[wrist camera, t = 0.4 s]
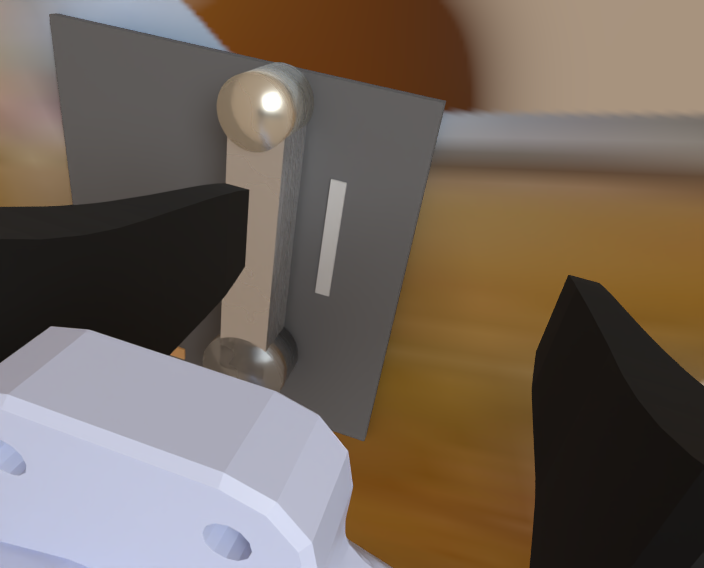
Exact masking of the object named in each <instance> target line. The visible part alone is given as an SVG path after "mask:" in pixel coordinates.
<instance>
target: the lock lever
mask: <svg viewBox="0 0 704 568" xmlns="http://www.w3.org/2000/svg"><path fill="white" fill-rule="evenodd" d="M313 110H314V95H313V91H312V88H311V86H310V83H309V82H308V80H307V78H306V77H305V76H304V75H303V74H302V73H301V72H300V71H299V70H298V69H297V68H295V67H293V66H291V65H289V64H286V63H281V62H276V63H270V64H267V65H264V66H261V67H258V68H255V69H253V70H250V71H247V72H244V73H241V74H238V75H235V76H233V77H231V78H230V79H228V80H227V81H226V82H225V83H224V85H223V86H222V88H221V90H220V92H219V94H218V98H217V115H218V119H219V122H220V125H221V127H222V129H223V131H224V132H225V134H226V135H227V160H226V184H230V185H234V186H238V187H241V188H245V189H249V207H248V224H247V242H246V259H245V268H244V269H243V271H242V272H241V274H240V275H239V277H238V278H237V280H236V281H235V283H234V284H233V286H232V287H231V289H230V290H229V291H228V293H227V294H226V296H225V297H224V298H223V299H222V308H221V331H220V332H219V334H218V335H217V336H216V337H215V338H214V339H213V340H212V342H211V343H210V344H209V345H208V346H207V348H206V349H205V351H204V354H203V367H204V368H207V369H210V370H213V371H216V372H219V373H222V374H225V375H228V376H231V377H234V378H237V379H241V380H244V381H247V382H250V383H253V384H256V385H259V386H262V387H265V388H268V389H271V390H274V391H277V392H280V390H281V389H282V387H283V385H284V384H285V382H286V381H287V379H288V377H289V376H290V374H291V372H292V371H293V369H294V367H295V366H296V364H297V361H298V348H297V344H296V342H295V340H294V338H293V336H292V334H291V333H290V332H289V330H288V329H287V328H286V327H285V326H284V325H285V316H286V307H287V298H288V288H289V279H290V270H291V261H292V252H293V243H294V234H295V225H296V215H297V206H298V197H299V188H300V179H301V170H302V161H303V152H304V142H305V133H306V125H307V123H308V122H309V120H310V119H311V116H312V114H313Z"/></svg>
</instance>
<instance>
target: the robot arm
mask: <svg viewBox="0 0 704 568" xmlns="http://www.w3.org/2000/svg"><path fill="white" fill-rule="evenodd" d="M248 207H249V189H245V188H241V187H238V186H234V185H230V184H226V183H215V184H206V185H200V186H194V187H188V188H183V189H178V190H172V191H167V192H162V193H156V194H151V195H145V196H139V197H133V198H126V199H120V200H114V201H107V202H99V203H90V204H79V205H66V206H49V207H0V568H392V567H391V566H389V565H388V564H386V563H384V562H383V561H381V560H380V559H378V558H376V557H375V556H373V555H372V554H370V553H369V552H367V551H365V550H364V549H362V548H361V547H359V546H358V545H356V544H354V543H353V542H351V541H350V540H348V539H347V538H346V535H345V519H346V514H347V510H348V506H349V502H350V497H351V493H352V489H353V483H352V476H351V468H350V461H349V454H348V451H347V449H346V448H345V447H344V446H343V444H342V443H341V442H340V441H339V439H338V438H337V437H336V436H335V434H334V433H333V432H332V431H331V429H330V428H329V427H328V426H327V424H326V423H325V422H324V421H323V419H322V418H321V417H320V416H319V415H318V414H317V413H315V412H313V411H312V410H310V409H308V408H306V407H304V406H303V405H301V404H299V403H297V402H295V401H294V400H292V399H290V398H288V397H286V396H285V395H283V394H281V393H279V392H277V391H274V390H271V389H268V388H265V387H262V386H259V385H256V384H253V383H250V382H247V381H244V380H241V379H237V378H234V377H231V376H228V375H225V374H222V373H219V372H216V371H213V370H210V369H207V368H204V367H201V366H198V365H195V364H192V363H189V362H186V361H183V360H180V359H177V358H174V357H171V356H169V355H170V354H171V353H172V352H173V351H174V350H175V349H176V348H177V347H178V346H179V345H180V344H181V343H182V342H183V341H184V340H185V339H186V338H187V336H188V335H189V334H190V333H191V332H192V331H193V330H194V329H195V328H196V327H197V326H198V325H199V324H200V323H201V322H202V321H203V320H204V319H205V318H206V317H207V315H208V314H209V313H210V312H211V311H212V310H213V309H214V308H215V307H216V306H217V305H218V304H219V303H220V301H221V300H222V299H223V298H224V297H225V296H226V294H227V293H228V291H229V290H230V289H231V287H232V286H233V284H234V283H235V281H236V280H237V278H238V277H239V275H240V274H241V272H242V271H243V269H244V268H245V259H246V242H247V224H248ZM532 411H533V434H534V455H535V477H536V480H535V509H534V523H533V536H532V547H531V558H530V568H704V386H703V385H702V384H701V383H699V382H698V381H697V380H696V379H695V378H693V377H692V376H691V375H690V374H689V373H688V372H686V371H685V370H684V369H683V368H682V367H681V366H680V365H679V364H678V363H677V362H676V361H675V360H673V359H672V358H671V357H670V356H669V355H668V354H667V353H666V352H665V351H664V350H663V349H662V348H661V347H660V346H659V345H658V344H657V343H656V342H655V341H654V340H653V339H652V338H651V337H650V336H649V335H648V334H647V333H646V332H645V331H644V330H643V329H642V328H641V326H640V325H639V324H638V323H637V322H636V321H635V320H634V319H633V318H632V317H631V316H630V315H629V313H628V312H627V311H626V310H625V309H624V308H623V307H622V306H621V305H620V304H619V302H618V301H617V300H616V299H615V298H614V297H613V296H612V295H611V294H610V293H609V292H608V291H607V290H606V289H605V288H604V287H603V286H602V285H601V284H600V283H597V282H594V281H590V280H586V279H582V278H579V277H575V276H571V275H568V277H567V280H566V282H565V284H564V287H563V289H562V291H561V294H560V296H559V299H558V301H557V303H556V306H555V308H554V310H553V313H552V315H551V318H550V320H549V322H548V325H547V327H546V329H545V332H544V334H543V336H542V339H541V341H540V344H539V346H538V348H537V351H536V356H535V365H534V373H533V383H532Z"/></svg>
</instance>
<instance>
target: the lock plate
mask: <svg viewBox="0 0 704 568" xmlns="http://www.w3.org/2000/svg"><path fill="white" fill-rule="evenodd" d="M49 17H50V25H51V33H52V41H53V49H54V57H55V65H56V73H57V81H58V89H59V97H60V105H61V113H62V121H63V129H64V137H65V145H66V153H67V161H68V169H69V177H70V185H71V193H72V201H73V205H79V204H90V203H99V202H107V201H114V200H120V199H126V198H133V197H139V196H145V195H151V194H156V193H162V192H167V191H172V190H178V189H183V188H188V187H194V186H200V185H206V184H215V183H226V160H227V135H226V134H225V132H224V131H223V129H222V127H221V125H220V122H219V119H218V115H217V98H218V94H219V92H220V90H221V88H222V86H223V85H224V83H225V82H226V81H227V80H228V79H230V78H231V77H233V76H235V75H238V74H241V73H244V72H247V71H250V70H253V69H255V68H258V67H261V66H264V65H267V64H270V63H275V62H270V61H266V60H261V59H257V58H252V57H248V56H243V55H239V54H235V53H230V52H226V51H222V50H217V49H213V48H208V47H204V46H199V45H195V44H190V43H186V42H182V41H177V40H173V39H168V38H164V37H159V36H155V35H150V34H146V33H142V32H137V31H133V30H128V29H124V28H119V27H115V26H110V25H106V24H102V23H97V22H93V21H88V20H84V19H79V18H75V17H70V16H66V15H62V14H49ZM295 68H297V67H295ZM297 69H298V70H299V71H300V72H301V73H302V74H303V75H304V76H305V77H306V78H307V80H308V82H309V83H310V86H311V88H312V91H313V95H314V110H313V114H312V116H311V119H310V120H309V122H308V123H307V125H306V133H305V142H304V152H303V161H302V170H301V179H300V188H299V197H298V206H297V215H296V225H295V234H294V243H293V252H292V261H291V270H290V279H289V288H288V298H287V307H286V316H285V325H284V326H285V327H286V328H287V329H288V330H289V332H290V333H291V334H292V336H293V338H294V340H295V342H296V344H297V348H298V361H297V364H296V366H295V367H294V369H293V371H292V372H291V374H290V376H289V377H288V379H287V381H286V382H285V384H284V385H283V387H282V389H281V390H280V392H279V393H281V394H283V395H285V396H286V397H288V398H290V399H292V400H294V401H295V402H297V403H299V404H301V405H303V406H304V407H306V408H308V409H310V410H312V411H313V412H315V413H317V414H318V415H319V416H320V417H321V418H322V419H323V421H324V422H325V423H326V424H327V426H328V427H329V428H330V429H331V430H332V431H335V432H338V433H341V434H344V435H347V436H350V437H353V438H356V439H359V440H362V441H364V440H365V437H366V434H367V430H368V426H369V421H370V417H371V413H372V409H373V405H374V401H375V396H376V392H377V388H378V384H379V380H380V375H381V371H382V367H383V363H384V359H385V354H386V350H387V346H388V342H389V338H390V333H391V329H392V325H393V321H394V317H395V313H396V308H397V304H398V300H399V296H400V292H401V287H402V283H403V279H404V275H405V271H406V266H407V262H408V258H409V254H410V250H411V245H412V241H413V237H414V233H415V229H416V224H417V220H418V216H419V212H420V208H421V204H422V199H423V195H424V191H425V187H426V183H427V178H428V174H429V170H430V166H431V162H432V157H433V153H434V149H435V145H436V141H437V136H438V132H439V128H440V124H441V120H442V115H443V111H444V107H445V102H446V101H443V100H439V99H434V98H430V97H426V96H421V95H416V94H413V93H408V92H404V91H399V90H395V89H390V88H386V87H381V86H377V85H373V84H368V83H363V82H359V81H354V80H350V79H346V78H341V77H337V76H333V75H328V74H324V73H319V72H314V71H310V70H306V69H301V68H297ZM221 308H222V300H221V301H220V303H219V304H218V305H217V306H216V307H215V308H214V309H213V310H212V311H211V312H210V313H209V314H208V315H207V317H206V318H205V319H204V320H203V321H202V322H201V323H200V324H199V325H198V326H197V327H196V328H195V329H194V330H193V331H192V332H191V333H190V334H189V335H188V336H187V338H186V339H185V340H184V341H183V342H182V343H181V344H180V345H179V346H178V347H177V348H176V349H175V350H174V351H173V352H172V353H171V354H170V355H169V356H171V357H174V358H177V359H180V360H183V361H186V362H189V363H192V364H195V365H198V366H201V367H203V354H204V351H205V349H206V348H207V346H208V345H209V344H210V343H211V342H212V340H213V339H214V338H215V337H216V336H217V335H218V334H219V332H220V331H221Z"/></svg>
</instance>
